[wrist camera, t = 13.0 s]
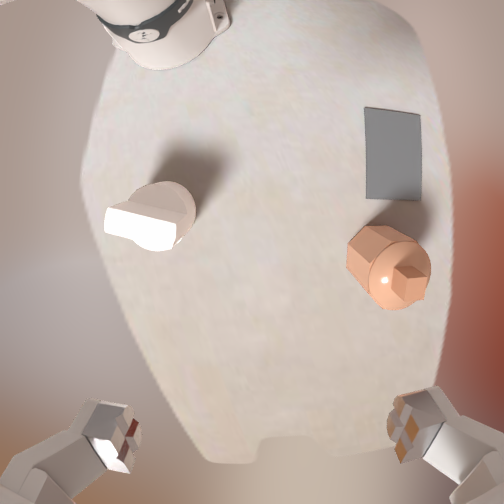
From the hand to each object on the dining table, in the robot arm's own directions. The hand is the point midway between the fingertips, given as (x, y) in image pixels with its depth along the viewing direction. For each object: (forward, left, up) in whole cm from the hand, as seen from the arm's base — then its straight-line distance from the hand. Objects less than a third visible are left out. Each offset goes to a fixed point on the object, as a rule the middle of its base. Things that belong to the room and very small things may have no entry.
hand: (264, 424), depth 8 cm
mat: (-9, +22, -37) cm, 44 cm away
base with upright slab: (-1, -13, -37) cm, 40 cm away
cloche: (+7, +19, -37) cm, 42 cm away
